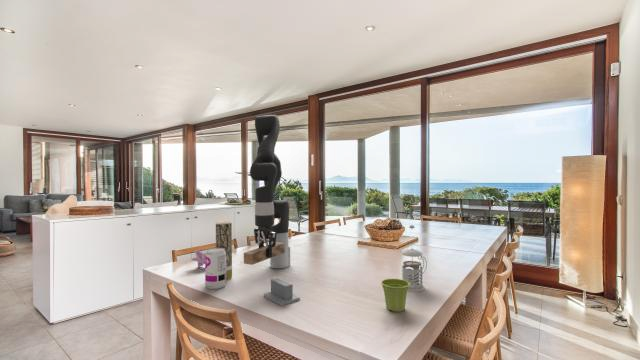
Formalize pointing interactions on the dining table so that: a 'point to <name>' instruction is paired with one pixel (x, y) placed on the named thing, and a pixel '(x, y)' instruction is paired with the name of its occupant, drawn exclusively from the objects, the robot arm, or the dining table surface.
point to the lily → (199, 258)
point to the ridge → (281, 292)
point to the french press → (415, 272)
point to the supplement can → (215, 268)
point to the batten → (262, 254)
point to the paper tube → (225, 243)
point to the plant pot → (395, 293)
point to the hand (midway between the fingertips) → (265, 255)
